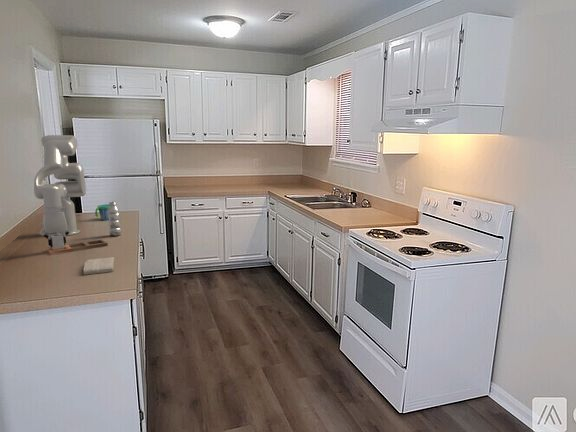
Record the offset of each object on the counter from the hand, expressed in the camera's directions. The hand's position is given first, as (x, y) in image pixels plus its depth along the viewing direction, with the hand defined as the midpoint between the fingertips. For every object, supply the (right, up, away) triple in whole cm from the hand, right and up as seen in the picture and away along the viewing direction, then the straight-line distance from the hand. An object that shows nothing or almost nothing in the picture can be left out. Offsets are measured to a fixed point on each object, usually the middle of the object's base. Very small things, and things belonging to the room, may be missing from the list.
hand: (57, 245), depth 206 cm
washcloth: (+34, -9, -26) cm, 44 cm away
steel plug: (0, -2, 0) cm, 2 cm away
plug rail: (+7, -2, +6) cm, 10 cm away
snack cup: (-12, +12, +83) cm, 84 cm away
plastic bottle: (+15, +3, +33) cm, 37 cm away
